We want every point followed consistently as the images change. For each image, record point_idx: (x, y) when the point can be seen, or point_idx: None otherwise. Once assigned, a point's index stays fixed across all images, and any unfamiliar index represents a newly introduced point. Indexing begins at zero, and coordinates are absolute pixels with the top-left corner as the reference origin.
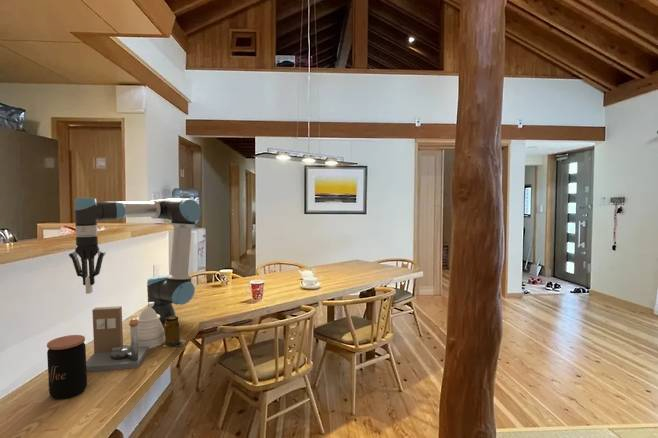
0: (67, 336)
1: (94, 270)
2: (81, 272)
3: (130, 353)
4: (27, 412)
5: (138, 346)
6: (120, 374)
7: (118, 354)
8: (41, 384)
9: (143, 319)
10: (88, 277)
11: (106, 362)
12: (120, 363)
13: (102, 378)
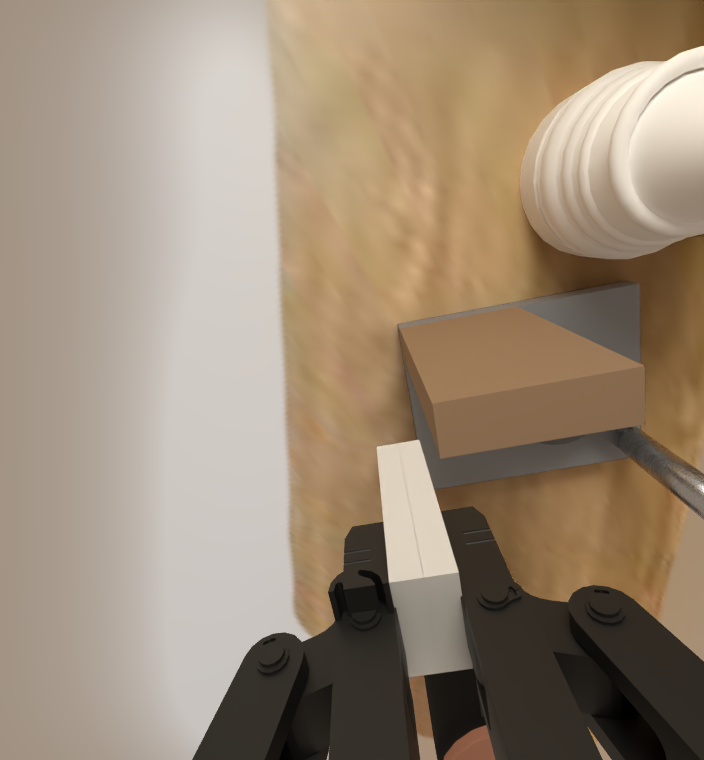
0: (490, 747)
1: (566, 684)
2: (288, 705)
3: (609, 431)
4: (412, 678)
5: (572, 253)
6: (578, 496)
7: (559, 442)
8: (340, 554)
9: (686, 220)
10: (444, 646)
11: (508, 454)
12: (570, 463)
13: (525, 521)
